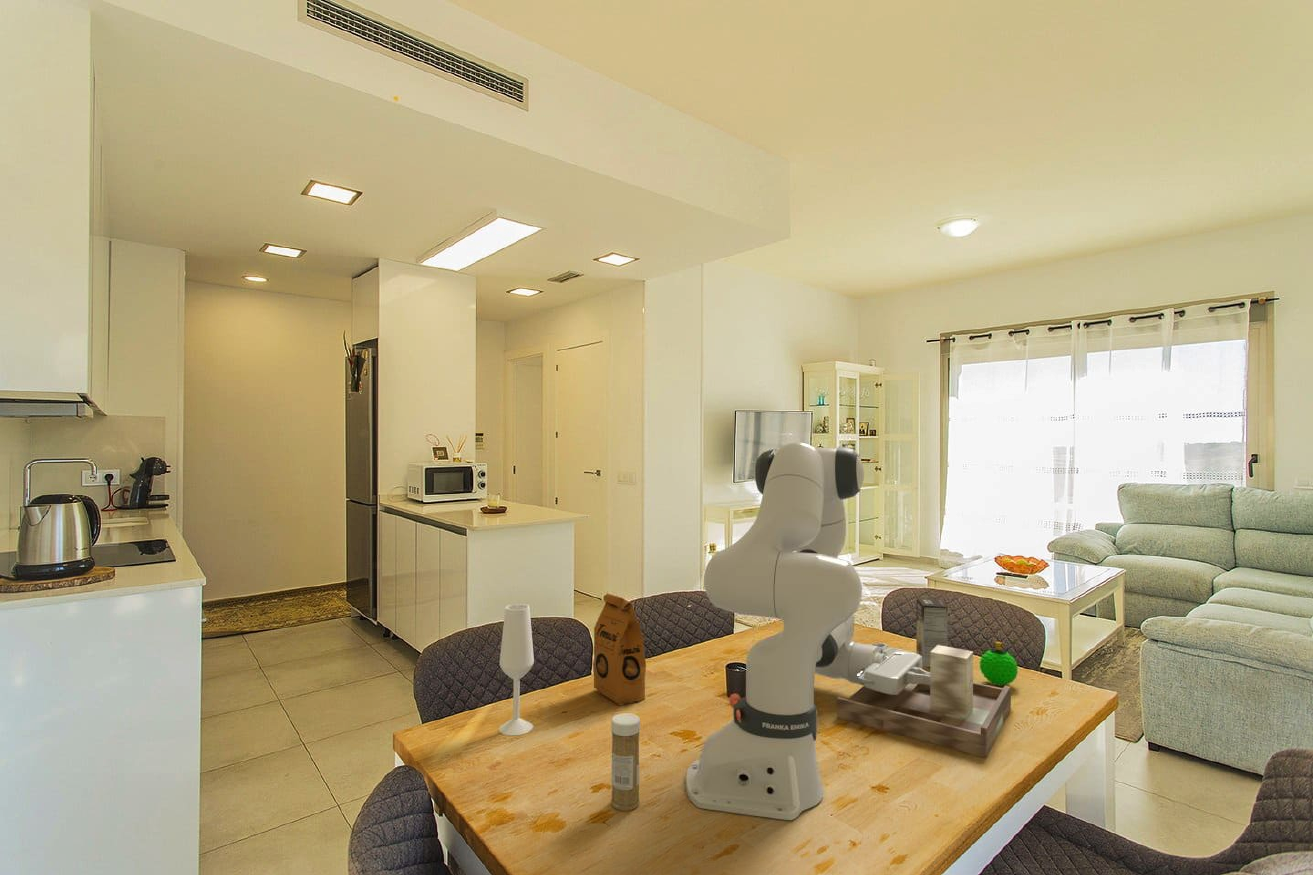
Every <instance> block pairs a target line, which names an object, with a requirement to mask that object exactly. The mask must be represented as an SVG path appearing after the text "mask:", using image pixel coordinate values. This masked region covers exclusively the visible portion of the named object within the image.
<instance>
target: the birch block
mask: <svg viewBox="0 0 1313 875" xmlns="http://www.w3.org/2000/svg"><path fill="white" fill-rule="evenodd" d="M929 672H930V710H933V711H937V712H941V713H945V714H950V715H954V716H958V717H962V718H966V719H967V718H968V716H969V715H970V713H971V711H972V710H973V682H974V651H973V650H972V651H971V650H966V649H961V648H957V647H953V646H951V647H950V646H948V647H946V646H941V645H937V646H936V647H935V648H934V649H933V650H932V651H931V652H930V668H929Z"/></svg>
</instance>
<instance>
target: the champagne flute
mask: <svg viewBox="0 0 1313 875" xmlns="http://www.w3.org/2000/svg"><path fill="white" fill-rule="evenodd" d="M530 607H531V606H530V605H528V604H524V603H516V604H510V605H506V606H505V608H504V617H503V626H502V637H501V644H500V656H499V667H500V668H501V670H502V672H503V673H504V674H505V675H506V676H507V677H509V678H510V679H512V680H513V691H512V692H513V695H512V697H513V702H512V704H513V708H512V718H511V719H510V720H507V721H506V722H504V723H503V724H501V725H500V726H499V728H498V731H499V732H500V734H503V735H505V736H520V735H524V734H528V733H529V732H531V731H532V730H533V729H534V725H533V724H532V723H531V722H529V721H527V720H525V719H523V718H520V684H521V683H520V680H521V679H522V678H523V677H524V676H525V675H527V673H528V672H530V670H531V669H532V667H533V665H534V662H535V658H534V644H533V633H532V621H531V610H530V609H531V608H530Z"/></svg>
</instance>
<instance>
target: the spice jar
mask: <svg viewBox="0 0 1313 875" xmlns="http://www.w3.org/2000/svg"><path fill="white" fill-rule="evenodd" d="M610 724H611V725H610V727H611V729H610V731H611V735H612V737H611V739H612V740H611V741H612V742H611V747H612V748H611V801H610V803H611V806H612V807H613V808H614V809H615V810H619V811H622V812H623V811H624V812H625V811H627V812H628V811H632V810H634V809H636V808H637V807H639V804H640V788H639V787H640V731H641V719H640V717H639V716H638V715H636V714H634V713H630V712H629V713H627V712H625V713H624V712H623V713H619V714H615V715H614V716H613V717H612V718H611V723H610Z"/></svg>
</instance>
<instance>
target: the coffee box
mask: <svg viewBox="0 0 1313 875" xmlns="http://www.w3.org/2000/svg"><path fill="white" fill-rule="evenodd" d="M915 622H916V649H915V650H916V652H915V653H917V654H919V655H921V656H922V668H929V667H930V652H931V651H932V650H933V649H934V648H935V647H936V646H937V645H941V646H946V647H949V646H948V642H949V641H948V638H949V636H948V635H949V634H948V633H949V632H948V631H949V607H948V605H946V602H944V601H943V600H942V599H941V598H934V597H933V598H932V597H916V621H915Z"/></svg>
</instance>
